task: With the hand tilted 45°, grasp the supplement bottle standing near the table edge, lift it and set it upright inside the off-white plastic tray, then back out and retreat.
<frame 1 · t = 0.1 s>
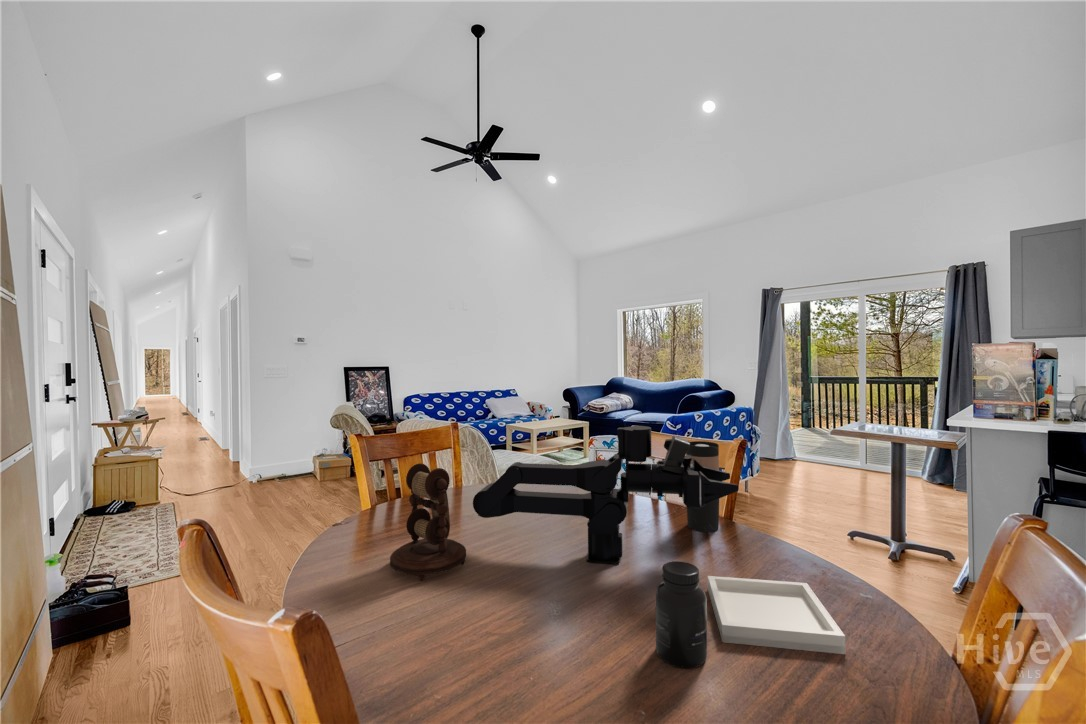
hand: (733, 481, 95), 17 cm above the table, tool horizontal, fingers open, 9 cm apart
supplement bottle: (681, 655, 67), on the table
travel mug: (703, 527, 117), on the table
thread spool stand: (428, 566, 97), on the table
tray: (768, 618, 76), on the table
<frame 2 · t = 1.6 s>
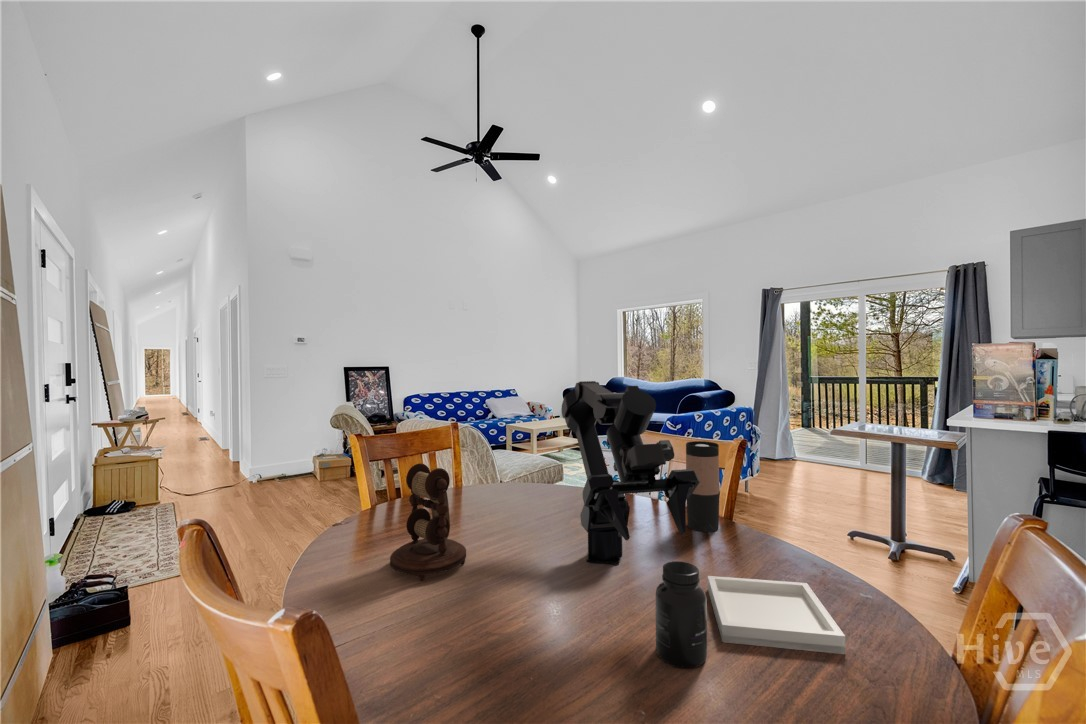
hand: (656, 536, 75), 13 cm above the table, tool tilted 45°, fingers open, 9 cm apart
nothing on the table moved.
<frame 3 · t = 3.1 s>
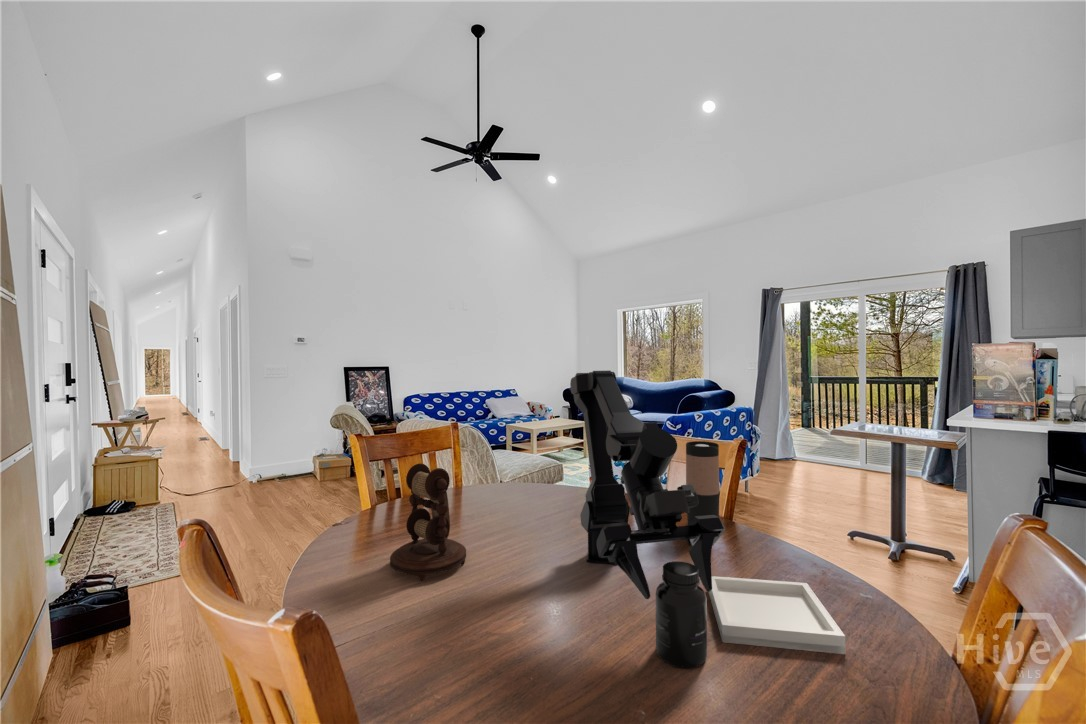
hand: (679, 594, 68), 8 cm above the table, tool tilted 45°, fingers open, 9 cm apart
nothing on the table moved.
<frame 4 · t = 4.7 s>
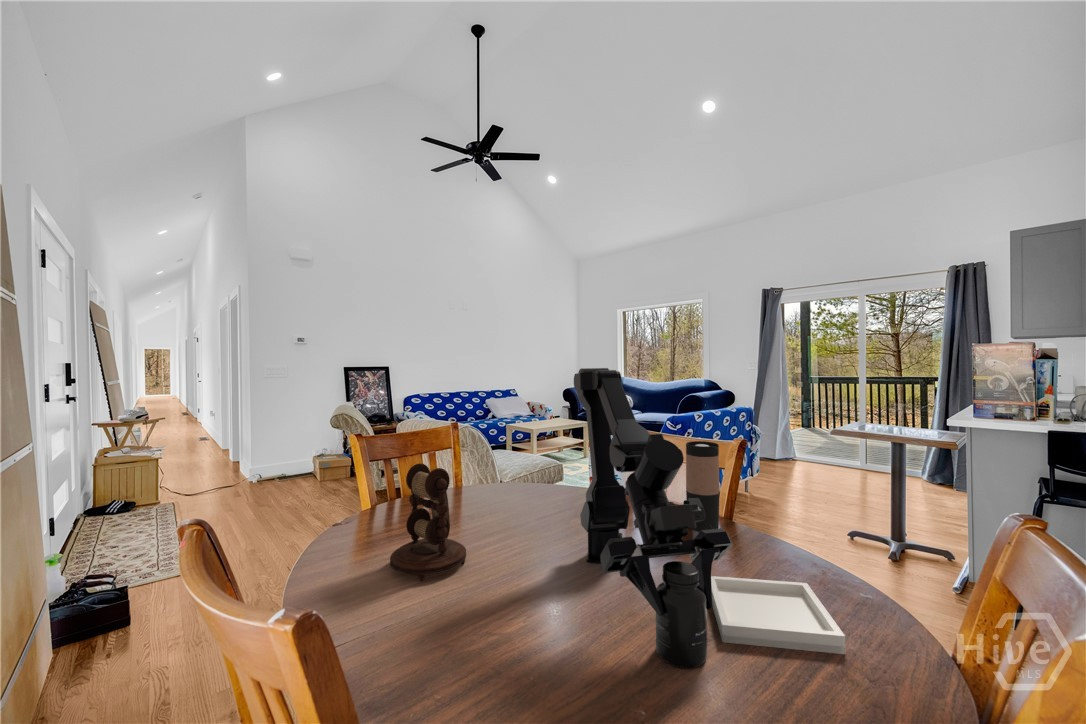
hand: (685, 611, 66), 7 cm above the table, tool tilted 45°, fingers closed on supplement bottle, 7 cm apart
supplement bottle: (681, 655, 67), on the table, touching gripper
everything else where it was.
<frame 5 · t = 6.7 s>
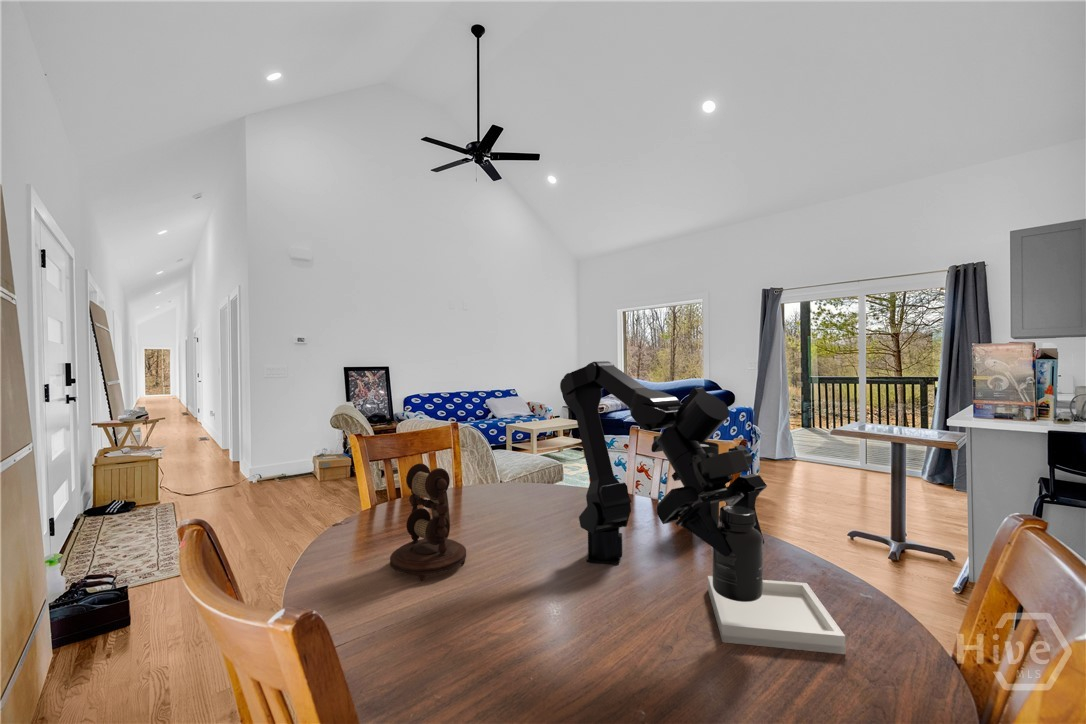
hand: (745, 550, 70), 13 cm above the table, tool tilted 45°, fingers closed on supplement bottle, 7 cm apart
supplement bottle: (737, 593, 71), point 6 cm above the table, touching gripper
everything else where it was.
when the fingers open (9 cm above the table, at t = 9.2 s): supplement bottle drops 1 cm, resting on tray.
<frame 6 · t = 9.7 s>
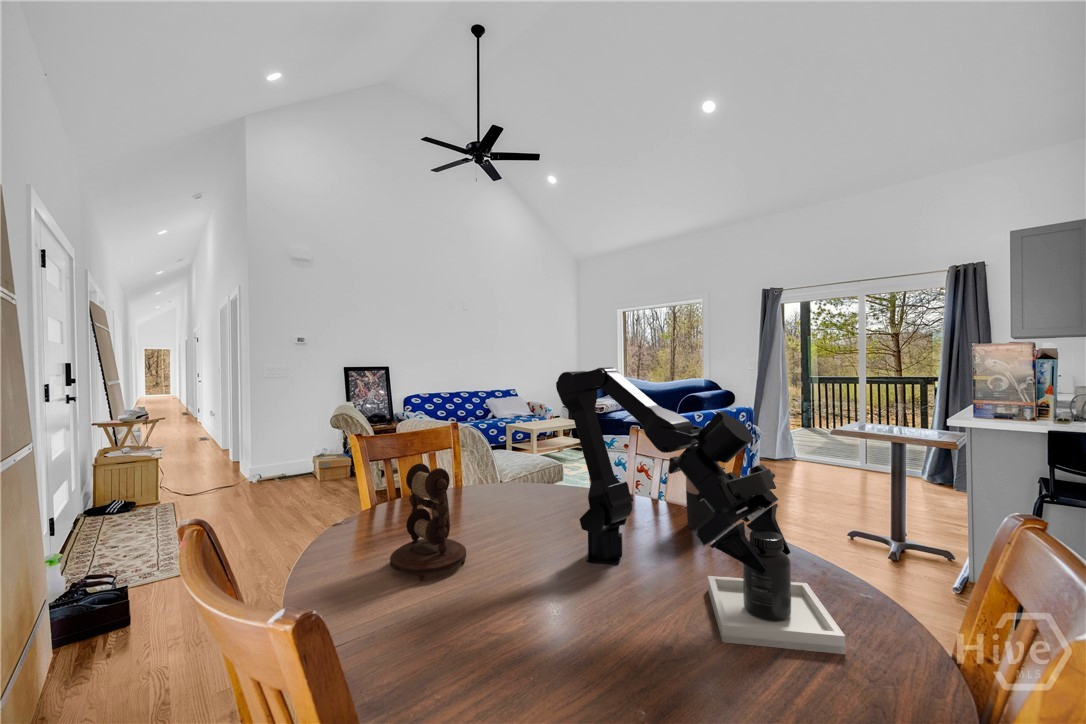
hand: (776, 563, 75), 9 cm above the table, tool tilted 45°, fingers open, 9 cm apart
supplement bottle: (766, 612, 76), point 1 cm above the table, touching tray
everything else where it was.
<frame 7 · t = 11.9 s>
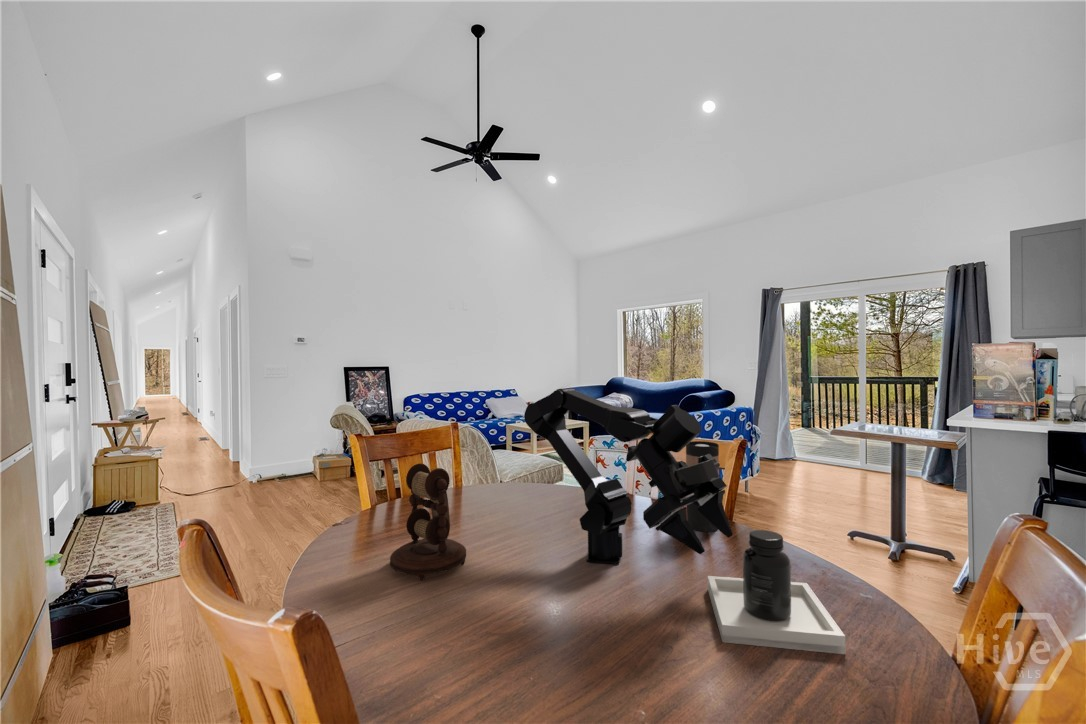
hand: (717, 544, 82), 9 cm above the table, tool tilted 45°, fingers open, 9 cm apart
nothing on the table moved.
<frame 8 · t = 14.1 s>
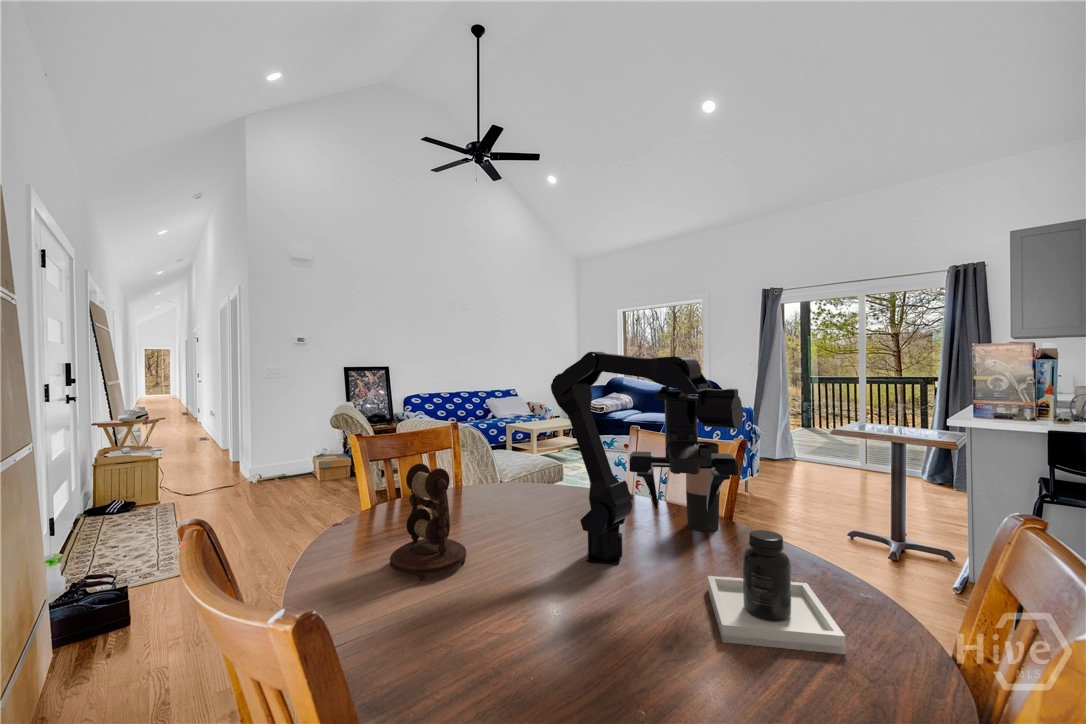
hand: (682, 509, 89), 13 cm above the table, tool pointing down, fingers open, 9 cm apart
nothing on the table moved.
at the end: supplement bottle inside the target area on the tray (0.1 cm from its centre), point 0.8 cm above the tray's base; supplement bottle tilted 0°; the gripper is holding nothing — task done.
